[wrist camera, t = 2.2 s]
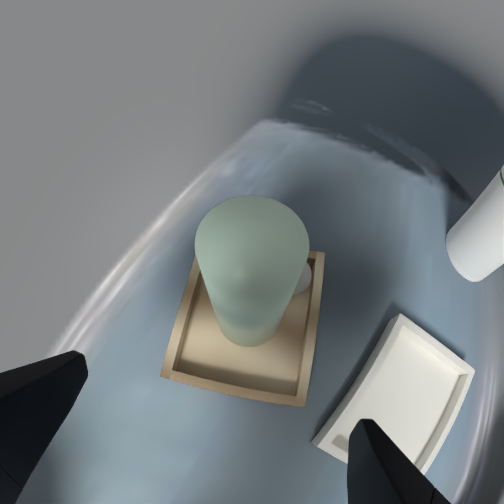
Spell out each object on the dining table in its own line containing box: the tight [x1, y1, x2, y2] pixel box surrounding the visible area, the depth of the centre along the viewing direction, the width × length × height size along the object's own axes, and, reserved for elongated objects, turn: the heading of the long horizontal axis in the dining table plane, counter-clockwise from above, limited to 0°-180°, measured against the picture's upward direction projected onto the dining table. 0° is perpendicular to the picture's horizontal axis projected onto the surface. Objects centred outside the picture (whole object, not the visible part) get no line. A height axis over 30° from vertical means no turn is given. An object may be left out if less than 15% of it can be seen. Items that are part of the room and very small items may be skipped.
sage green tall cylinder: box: [195, 196, 309, 347], centre depth 16 cm, size 5×5×11 cm
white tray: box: [311, 313, 475, 475], centre depth 17 cm, size 12×10×2 cm
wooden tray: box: [160, 250, 325, 407], centre depth 21 cm, size 12×10×2 cm
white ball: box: [292, 262, 312, 295], centre depth 21 cm, size 3×3×3 cm
